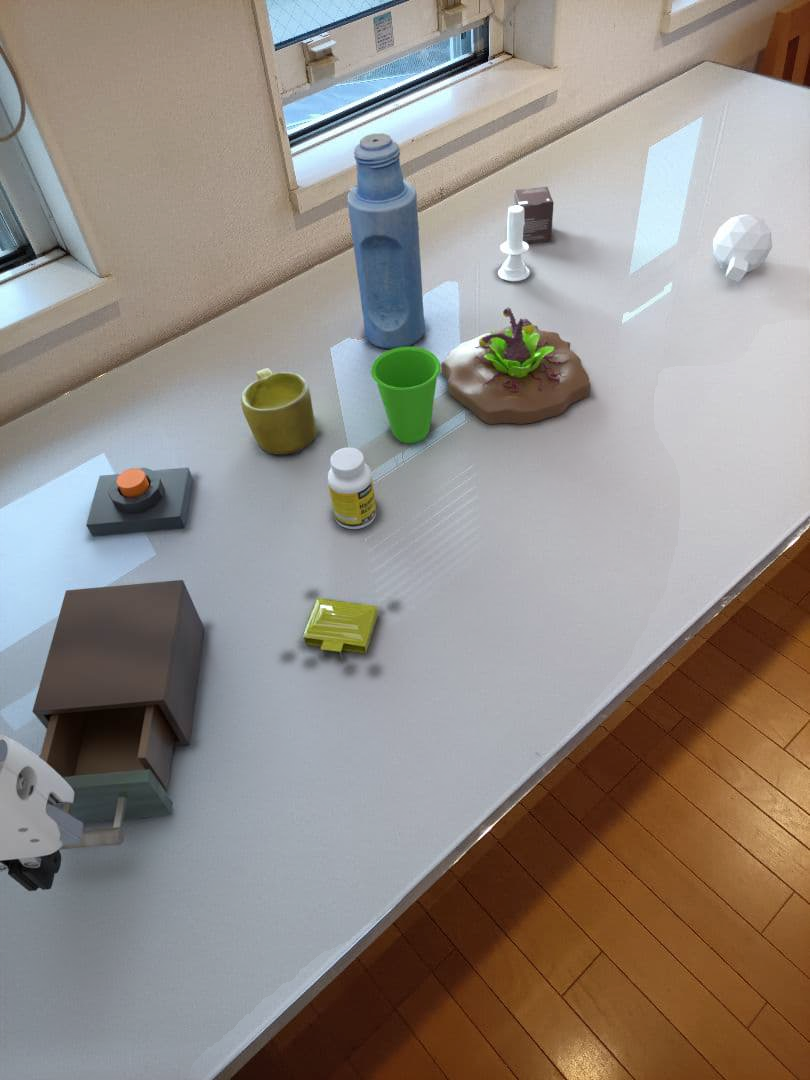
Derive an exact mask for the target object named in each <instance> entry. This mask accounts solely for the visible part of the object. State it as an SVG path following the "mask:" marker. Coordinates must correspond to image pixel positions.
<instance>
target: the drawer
mask: <svg viewBox="0 0 810 1080" xmlns="http://www.w3.org/2000/svg"><path fill="white" fill-rule="evenodd" d="M174 737H175V732H174V730H173V728H172V727H171V725H170V723H169V722H168V720H167V718H166V717H165V715H164V713H163V712H162V710H161V708H160V707H159V705H147V706H136V707H125V708H114V709H102V710H91V711H80V712H69V713H58V714H51V716H50V720H49V724H48V728H47V729H46V732H45V736H44V740H43V744H42V747H41V752H40V756H39V757H40V758H41V759H42V760H44V761H45V762H46V763H47V764H48V765H49V766H51V767H52V768H53V769H54V770H55V771H56V772H57V773H58V774H59V775H60V776H61V777H62V778H63V779H64V780H65V781H66V782H67V783H68V784H69V785H70V786H71V787H72V789H73V791H74V800H73V803H68V804H57V805H55V806H57V807H58V808H60V809H61V810H63V811H65V812H66V813H68V814H70V815H71V816H73V817H74V818H76V819H78V820H79V821H81V822H83V823H91V822H92V823H93V822H101V821H113V820H114V821H113V825H112V828H103V829H92V830H91V829H90V830H83V831H82V835H81V840H80V841H79V842H77V843H72V844H67V845H62V847H61V848H60V849H59V851H64V850H76V849H87V848H97V847H98V848H99V847H110V846H121V845H122V844H124V840H125V831H124V828H123V824H124V820H125V819H136V818H149V817H159V816H171V815H172V814H173V806H174V802H173V800H172V799H171V797H170V796H169V795H168V793H167V792H166V790H168V786H169V785H168V784H169V778H170V771H171V764H172V757H173V749H174V746H173V744H174Z"/></svg>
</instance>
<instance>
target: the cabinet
mask: <svg viewBox="0 0 810 1080" xmlns="http://www.w3.org/2000/svg"><path fill="white" fill-rule="evenodd" d="M205 630H206V629H205V626H204V625H203V622H202V620H201V617H200V615H199V612H198V610H197V608H196V606H195V603H194V602H193V599H192V597H191V595H190V592H189V590H188V588H187V586H186V584H185V581H184V579H175V580H163V581H153V582H140V583H131V584H121V585H110V586H108V585H107V586H98V587H88V588H76V589H66V590H65V593H64V596H63V599H62V604H61V605H60V611H59V613H58V617H57V620H56V625H55V628H54V632H53V635H52V639H51V643H50V646H49V650H48V654H47V657H46V660H45V664H44V668H43V672H42V675H41V680H40V683H39V686H38V690H37V693H36V697H35V700H34V704H33V708H32V713H33V715H35V717H36V718H37V719H38V720H39V722H40V723H41V724H42V725H43V726H44V728H45V729H46V730H47V728H48V724H49V720H50V716H51V714H58V713H69V712H80V711H91V710H102V709H114V708H125V707H136V706H147V705H159V707H160V708H161V710H162V712H163V713H164V715H165V717H166V718H167V720H168V722H169V723H170V725H171V727H172V728H173V730H174V732H175V737H174V744H173V747H179V746H181V747H182V746H190V745H191V738H192V730H193V723H194V715H195V708H196V699H197V691H198V683H199V676H200V669H201V662H202V653H203V644H204V638H205V637H204V636H205Z"/></svg>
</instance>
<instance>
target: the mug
mask: <svg viewBox="0 0 810 1080" xmlns="http://www.w3.org/2000/svg"><path fill="white" fill-rule="evenodd" d="M255 373H256V376H257V379H256V380H254V381H252V382H251V383H250V384H249V385H247V386H246V387H245V388H244V389H243V390H242V393H241V397H240V404H241V409H242V413H243V415H244V417H245V420H246V423H247V424H248V426H249V429H250V431H251V433H252V435H253V437H254V439H255V441H256V443H257V444H258V446H259V447H260V448H261V449H262V450H263V451H265V452H267V453H268V454H271V455H283V456H284V455H291V454H293V453H297V452H299V451H301V450H302V449H303V448H305V447H308V446H309V445H310V444H311V443H312V442H313V441H314V440H315V439H316V437H317V432H318V426H317V425H318V424H317V421H316V418H315V414H314V409H313V402H312V396H311V390H310V386H309V384H308V382H307V381H306V379H305V378H304V377H303V376H301V375H300V374H297V373H294V372H284V371H283V372H282V371H281V372H277V373H273V372H272V371H271V370H270V368H267V367H266V368H261V369H260V370H257V371H256V372H255Z"/></svg>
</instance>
